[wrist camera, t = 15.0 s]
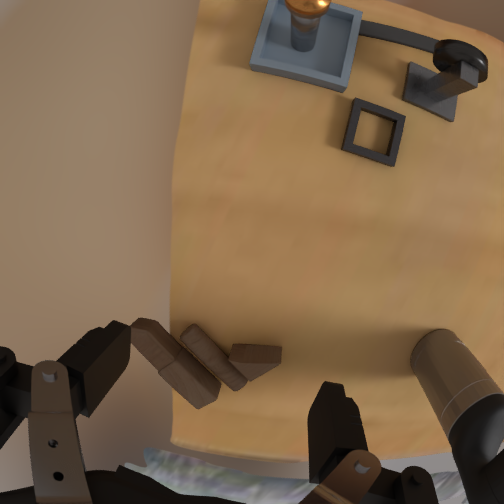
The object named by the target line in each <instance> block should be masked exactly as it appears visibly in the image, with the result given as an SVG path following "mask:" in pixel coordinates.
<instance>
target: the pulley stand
mask: <svg viewBox="0 0 504 504" xmlns="http://www.w3.org/2000/svg"><path fill="white" fill-rule="evenodd" d="M433 64H434V65H435V67H436V68H437V69H438V70H439V71H441V72H440V73H438V74H437V73H435V72H433V71H431V70H429V69H427V68H425V67H422V66H420V65H418V64H416V63H413V62H411V61H410V62H409V63H408V67H407V74H406V80H405V85H404V91H403V96H402V100H403V101H405V102H408V103H410V104H412V105H415V106H417V107H419V108H421V109H424V110H426V111H428V112H430V113H432V114H434V115H437V116H439V117H441V118H443V119H445V120H447V121H449V122H454V117H455V110H456V103H457V96H458V95H459V94H461V93H464V92H467V91H469V90H472V89H475V88H477V86H478V83H481V82H484V81H485V80H486V79H487V76H488V59H487V57H486V56H485V55H484V53H483V52H481V51H480V50H479V49H478V48H476V47H474V46H473V45H470V44H468V43H466V42H463V41H459V40H452V39H446V40H441V41H438V42H437V43H436V44H435V46H434V54H433Z"/></svg>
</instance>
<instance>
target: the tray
mask: <svg viewBox="0 0 504 504" xmlns="http://www.w3.org/2000/svg"><path fill="white" fill-rule="evenodd" d="M362 13H363V12H361V11H358V10H355V9H352V8H349V7H345V6H342V5H338V4H335V3H330V7H329V10H328V11H327V13H326V14H325V15H323V16H321V19H320V24H319V29H318V33H317V38H316V43H315V46H314V48H313V49H312V50H311V51H308V52H299V51H297V50H295V49H294V48H293V47H292V45H291V42H290V37H291V12H290V11H289V10H288V9H287V8H286V6H285V2H284V0H268V3H267V6H266V10H265V13H264V16H263V19H262V22H261V26H260V29H259V32H258V35H257V39H256V42H255V45H254V49H253V52H252V56H251V59H250V62H249V64H250V67H251V69H252V71H257V72H262V73H267V74H272V75H277V76H281V77H285V78H290V79H294V80H298V81H302V82H306V83H310V84H313V85H317V86H320V87H324V88H327V89H331V90H334V91H338V92H341V93H343V92H344V91H345V89H346V88H347V85H348V81H349V76H350V72H351V67H352V63H353V58H354V53H355V48H356V44H357V39H358V34H359V29H360V23H361V18H362Z"/></svg>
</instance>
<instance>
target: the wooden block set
mask: <svg viewBox="0 0 504 504" xmlns="http://www.w3.org/2000/svg"><path fill="white" fill-rule="evenodd" d="M130 327H131V343H132V344H133V345H134V346H135V347H136V348H137V350H138V351H139V352H140V353H141V354H142V355H143V356H144V357H145V358H146V359H147V360H148V361H149V362H150V363H151V364H152V365H153V366H154V367H155V368H156V369H157V370H158V373H159V375H160V376H161V377H162V378H163V379H164V380H165V381H166V382H168V383H169V384H170V385H171V386H172V387H173V388H174V389H175V390H176V391H177V392H178V393H179V394H180V395H181V396H183V397H184V398H185V399H186V400H187V401H188V402H189V403H190V404H192V405H193V406H194V407H195V408H196V409H200V408H202V407H204V406H206V405H208V404H210V403H212V402H214V401H216V399H217V397H218V394H219V391H220V388H221V385H222V384H221V382H219V381H218V380H217V379H216V378H215V377H214V376H213V375H212V374H211V373H210V372H209V371H208V370H207V369H206V368H205V367H204V366H203V365H202V364H201V363H200V362H199V361H198V360H197V359H196V358H195V357H194V356H193V355H192V354H191V353H190V352H189V351H188V350H187V349H186V348H184V347H181V346H180V345H179V344H178V343H177V342H176V341H175V339H174V338H173V337H172V336H171V335H170V334H169V333H168V332H167V331H166V330H165V329H164V328H163V327H162V326H161V325H160V324H159V323H158V322H157V321H155V320H151V319H146V318H138V319H137V320H136V321H135V322H133V323H132V325H131V326H130ZM180 339H181V341H182V342H183V343H184V344H185V345H186V346H187V347H188V348H189V349H190V350H191V351H192V352H193V353H194V354H195V355H196V356H197V357H198V358H199V359H200V360H201V361H202V362H203V363H204V364H205V365H206V366H207V367H208V368H209V369H210V370H211V371H212V372H214V373H215V374H216V375H217V376H218V377H219V378H220V379H221V380H222V381H223V382H224V383H225V384H226V385H227V386H228V387H229V388H231V389H232V390H233V391H238V390H240V389H241V388H243V387H244V386H245V384H246V383H247V381H248V380H249V381H252V380H254V379H256V378H257V377H259V376H261V375H263V374H264V373H266V372H268V371H269V370H271V369H273V368H274V367H276V366H278V365H279V364H281V352H282V347H277V346H267V345H251V344H233V346H232V349H231V352H230V355H229V358H228V357H227V356H226V355H225V354H224V353H223V352H222V351H221V350H220V349H219V348H218V347H217V346H216V345H215V344H214V343H213V342H212V341H211V340H210V338H209V337H208V336H207V335H206V334H205V333H204V332H203V331H202V330H201V329H200V328H199V327H198V326H197V325H196V324H193V325H191V326H189V327H188V328H187V329H186V330H185V331H184V332H183V333H182V334H181V336H180Z"/></svg>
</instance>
